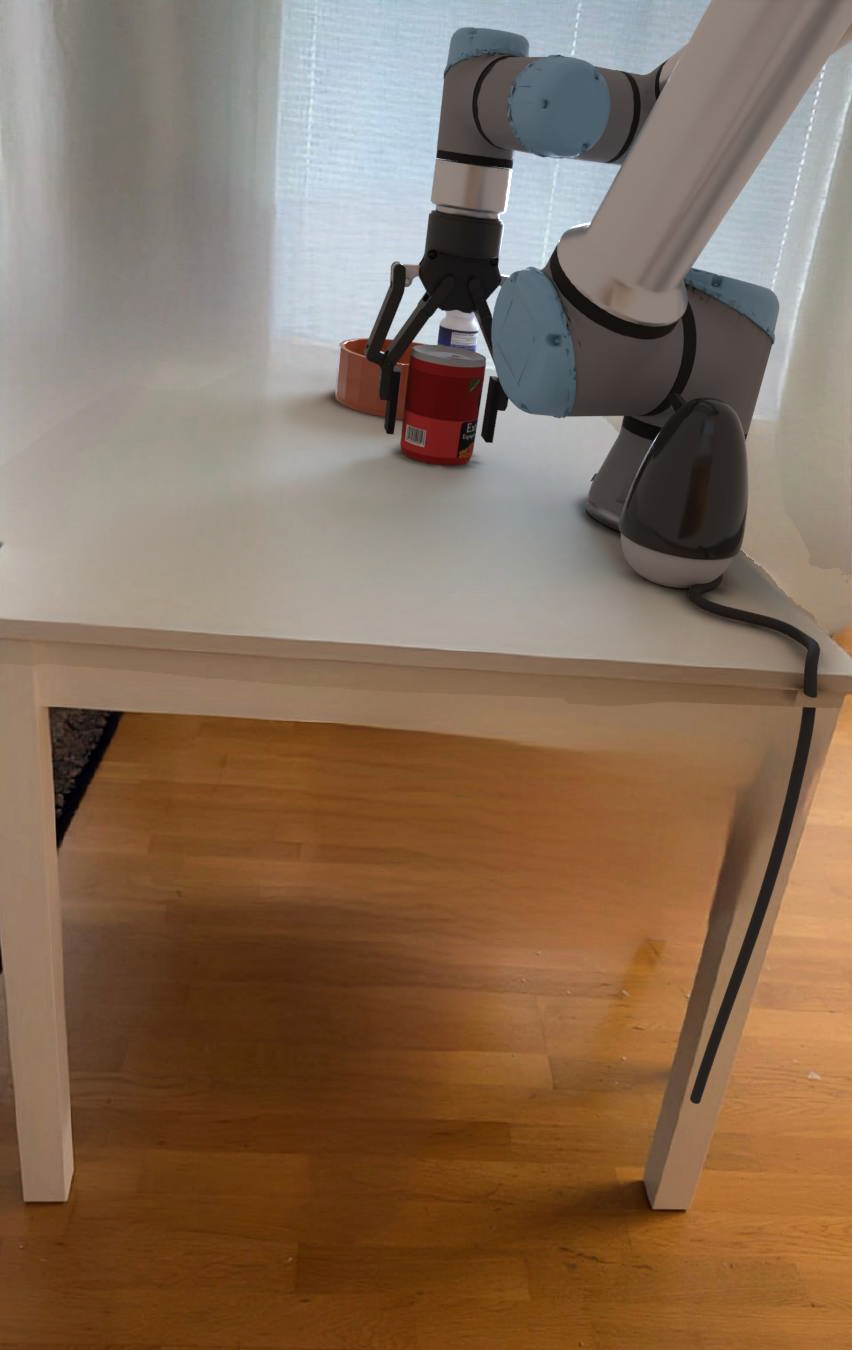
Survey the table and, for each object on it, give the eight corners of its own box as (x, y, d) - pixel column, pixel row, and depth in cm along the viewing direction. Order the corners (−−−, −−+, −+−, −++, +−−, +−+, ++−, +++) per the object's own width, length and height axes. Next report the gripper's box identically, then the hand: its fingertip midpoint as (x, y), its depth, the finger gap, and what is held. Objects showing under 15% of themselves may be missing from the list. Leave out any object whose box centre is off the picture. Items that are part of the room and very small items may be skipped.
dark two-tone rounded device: (684, 553, 97) (726, 384, 90) (753, 599, 88) (806, 417, 82) (586, 554, 93) (623, 379, 86) (650, 603, 85) (695, 412, 78)
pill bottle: (430, 368, 159) (438, 299, 154) (467, 372, 160) (477, 303, 156) (437, 377, 154) (446, 305, 149) (475, 380, 155) (486, 309, 151)
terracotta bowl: (472, 426, 130) (480, 372, 127) (340, 414, 127) (345, 358, 124) (449, 395, 144) (456, 345, 141) (330, 383, 141) (334, 333, 138)
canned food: (472, 470, 113) (488, 364, 108) (397, 460, 112) (409, 354, 107) (471, 451, 119) (485, 351, 114) (400, 442, 119) (411, 341, 114)
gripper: (567, 223, 110) (530, 434, 120) (349, 195, 106) (330, 417, 116) (587, 230, 104) (547, 453, 114) (356, 201, 99) (336, 435, 109)
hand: (438, 435), depth 115 cm, fingers open, 10 cm apart
